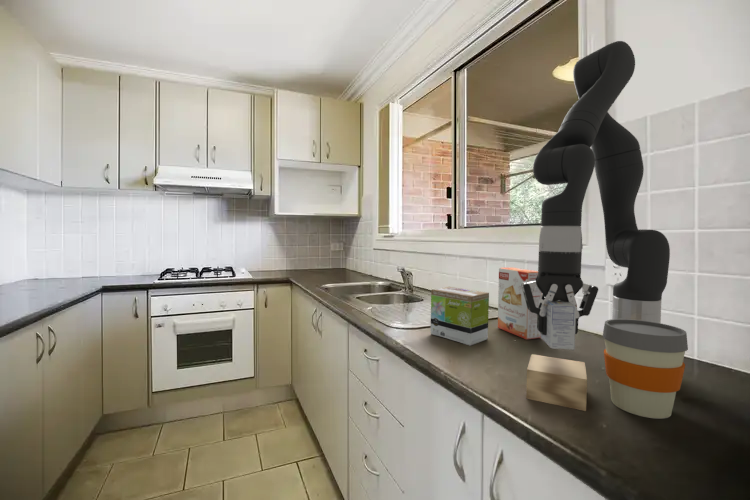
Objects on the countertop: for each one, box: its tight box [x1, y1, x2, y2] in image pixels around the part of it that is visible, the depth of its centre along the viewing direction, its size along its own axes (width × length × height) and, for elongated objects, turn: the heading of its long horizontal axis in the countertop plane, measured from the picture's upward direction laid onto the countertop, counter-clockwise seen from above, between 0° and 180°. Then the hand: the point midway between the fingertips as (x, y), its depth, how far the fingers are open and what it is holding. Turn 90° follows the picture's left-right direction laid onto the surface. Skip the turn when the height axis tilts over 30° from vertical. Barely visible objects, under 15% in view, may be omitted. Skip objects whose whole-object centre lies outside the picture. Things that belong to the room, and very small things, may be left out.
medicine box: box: [540, 299, 576, 351], centre depth 70 cm, size 8×4×9 cm, turn 168°
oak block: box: [525, 353, 588, 412], centre depth 71 cm, size 10×10×6 cm
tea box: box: [430, 286, 490, 347], centre depth 109 cm, size 15×10×15 cm
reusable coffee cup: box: [602, 318, 689, 419], centre depth 66 cm, size 13×13×15 cm
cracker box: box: [497, 267, 542, 340], centre depth 114 cm, size 14×6×21 cm, turn 17°
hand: (556, 334), depth 70 cm, fingers closed on medicine box, 4 cm apart
